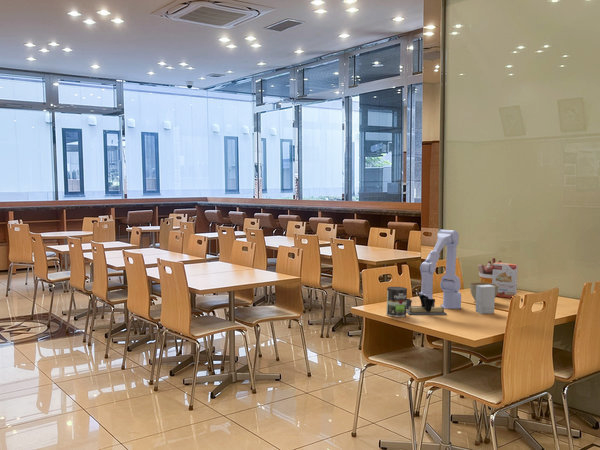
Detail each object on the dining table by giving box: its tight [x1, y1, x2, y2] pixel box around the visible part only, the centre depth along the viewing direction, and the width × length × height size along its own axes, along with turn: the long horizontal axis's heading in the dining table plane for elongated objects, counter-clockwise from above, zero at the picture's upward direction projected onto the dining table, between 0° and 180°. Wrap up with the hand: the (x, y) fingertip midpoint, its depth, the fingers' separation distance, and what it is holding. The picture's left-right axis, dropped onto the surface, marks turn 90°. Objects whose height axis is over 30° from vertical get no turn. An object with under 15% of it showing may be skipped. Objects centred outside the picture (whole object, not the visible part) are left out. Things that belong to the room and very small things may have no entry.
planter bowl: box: [469, 282, 499, 303], centre depth 333 cm, size 16×16×11 cm
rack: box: [406, 298, 436, 310], centre depth 312 cm, size 16×4×5 cm, turn 94°
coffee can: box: [385, 286, 408, 318], centre depth 295 cm, size 10×10×14 cm
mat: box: [406, 309, 447, 316], centre depth 300 cm, size 20×7×1 cm, turn 94°
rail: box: [408, 305, 445, 313], centre depth 300 cm, size 18×3×3 cm, turn 94°
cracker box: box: [492, 262, 519, 299], centre depth 354 cm, size 14×6×21 cm, turn 59°
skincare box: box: [475, 285, 496, 315], centre depth 305 cm, size 8×6×15 cm
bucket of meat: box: [477, 257, 502, 283], centre depth 384 cm, size 20×16×20 cm
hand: (426, 310), depth 300 cm, fingers open, 7 cm apart
